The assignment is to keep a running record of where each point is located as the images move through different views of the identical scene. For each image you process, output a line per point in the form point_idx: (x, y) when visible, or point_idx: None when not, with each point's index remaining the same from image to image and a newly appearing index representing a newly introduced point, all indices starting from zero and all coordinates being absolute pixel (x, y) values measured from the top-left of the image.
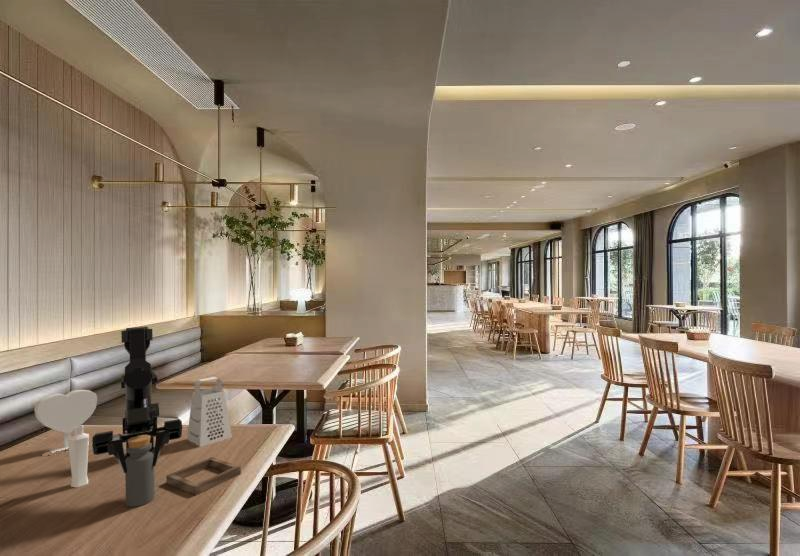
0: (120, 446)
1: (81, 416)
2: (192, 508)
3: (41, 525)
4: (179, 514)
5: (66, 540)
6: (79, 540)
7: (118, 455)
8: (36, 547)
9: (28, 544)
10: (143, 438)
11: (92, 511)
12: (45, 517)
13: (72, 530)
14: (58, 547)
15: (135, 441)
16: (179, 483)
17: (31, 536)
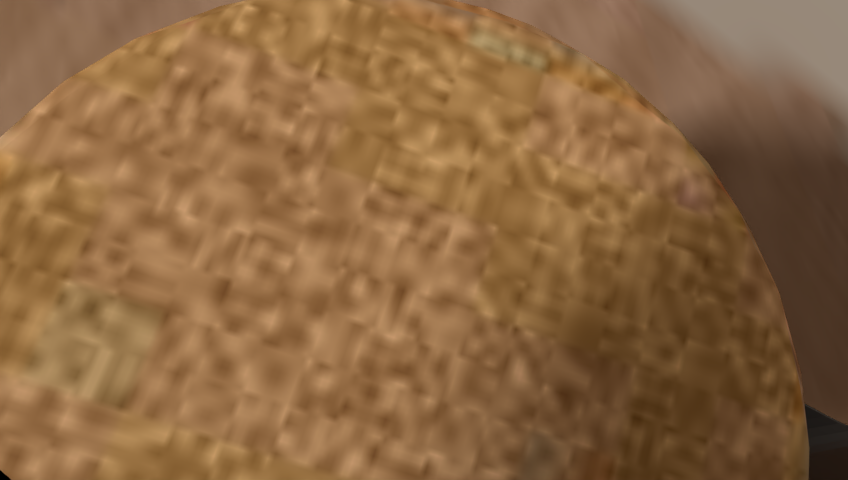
0: (825, 469)
1: None
2: (59, 46)
3: (807, 281)
4: (138, 16)
5: (645, 59)
6: (590, 26)
7: None
8: (746, 66)
9: (788, 113)
10: (185, 242)
11: None
12: (823, 370)
13: None
14: (658, 15)
15: (482, 18)
16: None
17: (806, 184)
